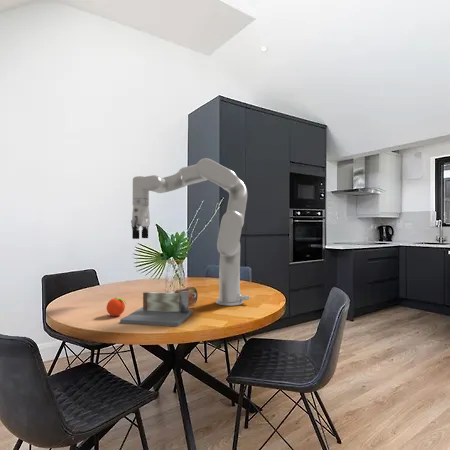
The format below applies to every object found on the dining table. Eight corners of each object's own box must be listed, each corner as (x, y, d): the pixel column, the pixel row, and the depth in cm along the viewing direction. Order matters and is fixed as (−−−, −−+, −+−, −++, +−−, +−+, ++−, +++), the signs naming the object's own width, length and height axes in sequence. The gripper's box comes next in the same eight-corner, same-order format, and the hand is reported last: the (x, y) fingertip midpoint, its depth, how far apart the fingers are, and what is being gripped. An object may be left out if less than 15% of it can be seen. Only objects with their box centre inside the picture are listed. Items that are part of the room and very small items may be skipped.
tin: (176, 311, 138) (176, 291, 138) (170, 310, 140) (170, 290, 140) (198, 304, 151) (198, 285, 151) (192, 303, 153) (192, 285, 153)
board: (192, 312, 136) (192, 309, 136) (178, 326, 117) (178, 322, 117) (142, 310, 139) (142, 307, 139) (120, 323, 121) (120, 319, 121)
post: (189, 314, 132) (189, 290, 132) (187, 316, 129) (187, 292, 129) (181, 314, 133) (182, 290, 133) (179, 316, 130) (179, 292, 130)
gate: (180, 310, 132) (180, 293, 132) (179, 311, 131) (179, 294, 131) (144, 309, 135) (144, 291, 135) (143, 310, 133) (143, 292, 133)
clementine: (130, 314, 133) (130, 296, 133) (122, 318, 127) (122, 300, 127) (111, 313, 135) (112, 295, 135) (103, 317, 128) (103, 299, 128)
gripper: (140, 201, 149) (139, 239, 149) (155, 203, 166) (155, 238, 166) (124, 201, 151) (124, 239, 151) (141, 204, 168) (141, 237, 168)
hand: (140, 238), depth 158 cm, fingers open, 9 cm apart
